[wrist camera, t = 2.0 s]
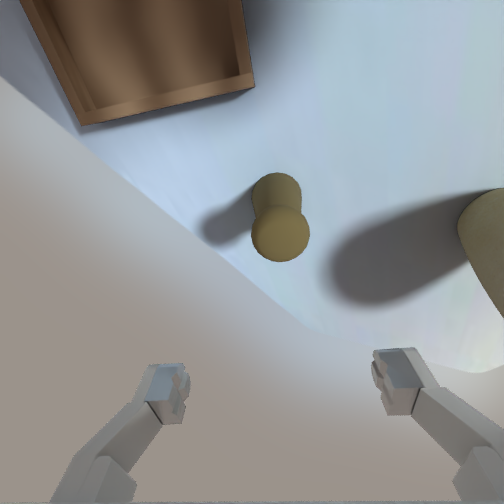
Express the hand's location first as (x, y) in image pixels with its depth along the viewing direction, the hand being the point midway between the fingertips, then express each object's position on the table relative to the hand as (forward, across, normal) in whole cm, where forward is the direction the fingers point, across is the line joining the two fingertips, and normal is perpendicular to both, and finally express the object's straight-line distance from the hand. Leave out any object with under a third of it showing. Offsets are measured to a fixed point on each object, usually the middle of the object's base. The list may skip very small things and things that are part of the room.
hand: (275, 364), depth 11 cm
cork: (+23, -1, +1) cm, 23 cm away
